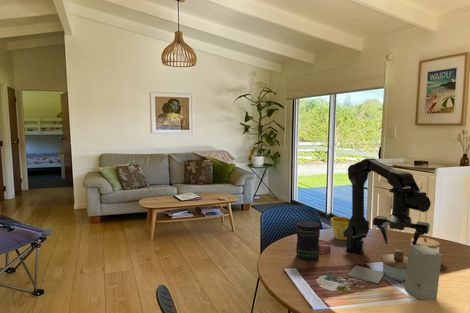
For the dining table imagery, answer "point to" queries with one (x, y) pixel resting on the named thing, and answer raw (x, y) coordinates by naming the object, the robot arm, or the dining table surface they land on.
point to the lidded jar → (427, 243)
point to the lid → (395, 260)
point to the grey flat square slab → (366, 274)
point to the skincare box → (423, 272)
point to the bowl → (394, 272)
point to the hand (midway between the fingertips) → (399, 246)
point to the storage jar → (308, 240)
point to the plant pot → (339, 226)
